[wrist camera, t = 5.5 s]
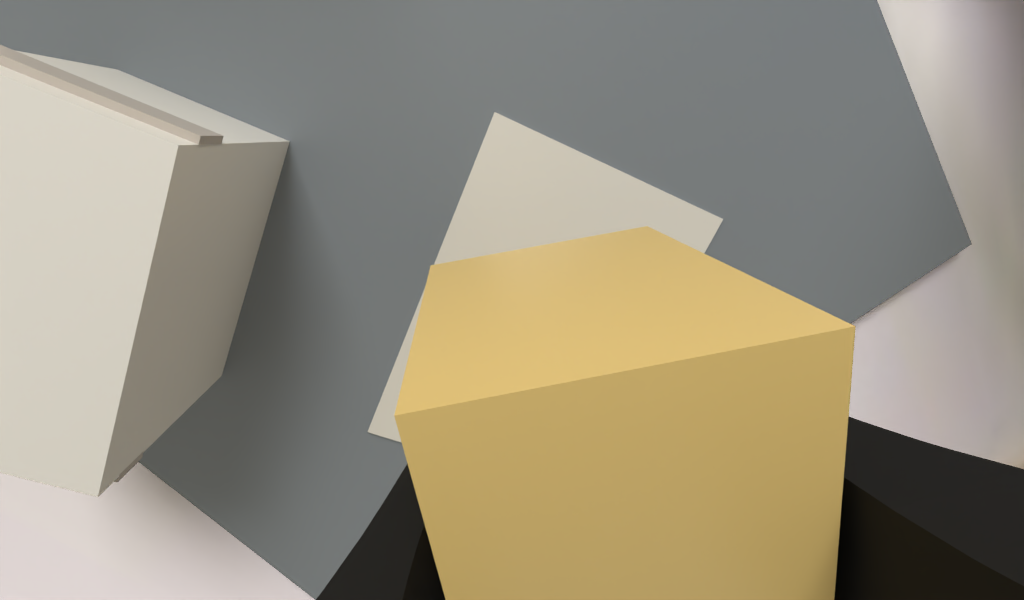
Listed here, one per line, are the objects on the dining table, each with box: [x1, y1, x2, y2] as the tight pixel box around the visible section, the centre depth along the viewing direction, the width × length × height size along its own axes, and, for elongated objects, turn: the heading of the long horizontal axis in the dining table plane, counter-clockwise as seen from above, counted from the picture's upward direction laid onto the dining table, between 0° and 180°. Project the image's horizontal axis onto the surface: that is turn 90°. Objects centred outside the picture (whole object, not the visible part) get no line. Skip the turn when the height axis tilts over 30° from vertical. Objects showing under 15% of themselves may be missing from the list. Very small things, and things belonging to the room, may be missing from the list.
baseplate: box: [0, 0, 972, 600], centre depth 13 cm, size 24×20×1 cm
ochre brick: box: [394, 226, 855, 600], centre depth 8 cm, size 4×7×5 cm, turn 9°
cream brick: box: [0, 45, 290, 497], centre depth 10 cm, size 4×7×5 cm, turn 156°
